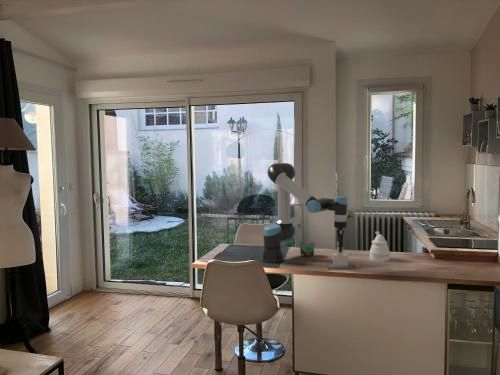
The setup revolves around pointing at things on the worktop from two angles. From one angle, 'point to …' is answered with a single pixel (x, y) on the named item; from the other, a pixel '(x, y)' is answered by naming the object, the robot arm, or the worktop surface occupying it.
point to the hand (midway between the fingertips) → (339, 254)
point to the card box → (340, 260)
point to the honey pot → (379, 249)
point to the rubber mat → (330, 266)
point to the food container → (307, 249)
